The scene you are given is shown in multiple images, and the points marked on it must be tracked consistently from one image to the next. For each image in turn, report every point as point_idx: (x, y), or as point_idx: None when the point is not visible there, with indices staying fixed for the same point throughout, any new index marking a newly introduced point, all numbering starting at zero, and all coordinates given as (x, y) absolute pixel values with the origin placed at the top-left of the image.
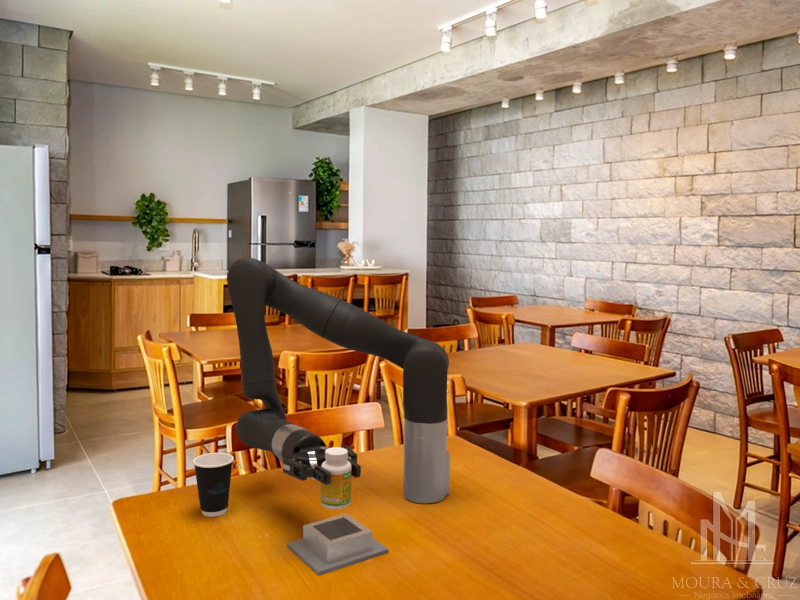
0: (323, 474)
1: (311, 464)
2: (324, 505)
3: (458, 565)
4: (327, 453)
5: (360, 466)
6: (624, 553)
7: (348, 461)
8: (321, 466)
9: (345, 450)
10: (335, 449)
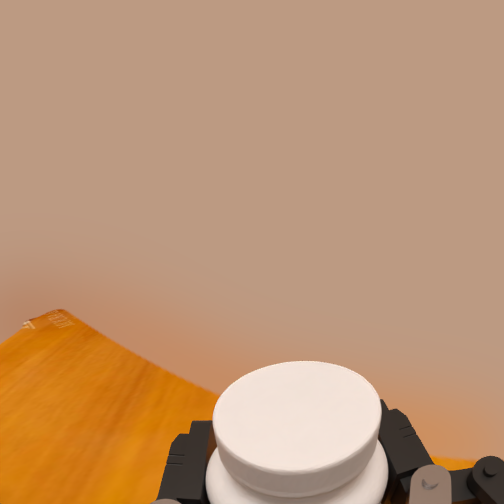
0: (392, 414)
1: (446, 488)
2: None
3: (144, 423)
4: (373, 388)
5: (181, 434)
6: (33, 350)
7: (218, 453)
8: (386, 480)
9: (233, 396)
10: (290, 427)
